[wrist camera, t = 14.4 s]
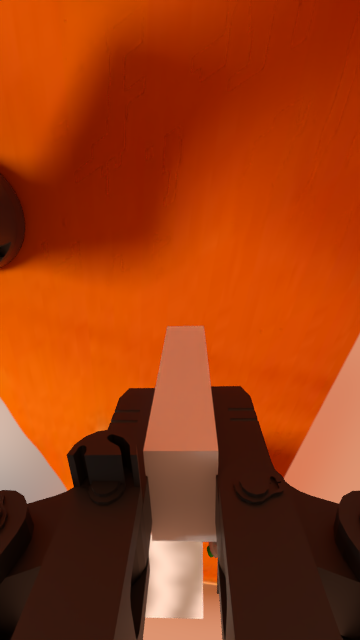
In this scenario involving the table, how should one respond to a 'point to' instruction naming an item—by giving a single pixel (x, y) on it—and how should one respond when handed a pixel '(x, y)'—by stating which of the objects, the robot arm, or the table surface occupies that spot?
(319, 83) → the table surface
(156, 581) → the stool
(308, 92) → the table surface
